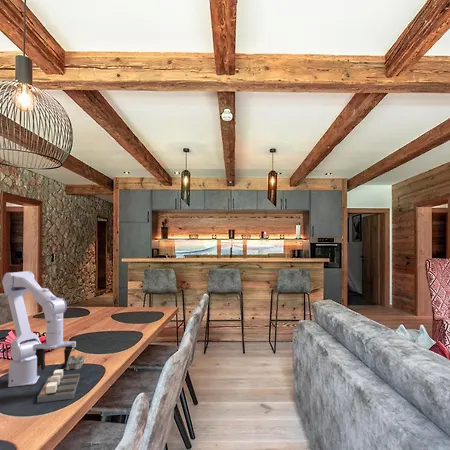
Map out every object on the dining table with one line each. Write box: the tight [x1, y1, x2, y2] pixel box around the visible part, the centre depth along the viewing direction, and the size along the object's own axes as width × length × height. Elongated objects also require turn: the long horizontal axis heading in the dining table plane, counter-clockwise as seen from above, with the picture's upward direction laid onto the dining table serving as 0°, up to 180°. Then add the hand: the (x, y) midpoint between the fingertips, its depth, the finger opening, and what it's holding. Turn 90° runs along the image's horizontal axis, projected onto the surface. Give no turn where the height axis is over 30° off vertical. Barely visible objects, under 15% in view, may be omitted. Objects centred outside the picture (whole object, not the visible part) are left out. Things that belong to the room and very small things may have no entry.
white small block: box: [52, 368, 64, 379], centre depth 139 cm, size 3×4×2 cm
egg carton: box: [64, 354, 86, 371], centre depth 158 cm, size 11×8×4 cm
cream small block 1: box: [50, 375, 60, 385], centre depth 133 cm, size 3×4×2 cm
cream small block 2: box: [46, 382, 57, 394], centre depth 126 cm, size 3×4×2 cm
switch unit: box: [36, 373, 81, 404], centre depth 133 cm, size 12×19×2 cm, turn 16°
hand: (54, 368), depth 133 cm, fingers open, 7 cm apart
